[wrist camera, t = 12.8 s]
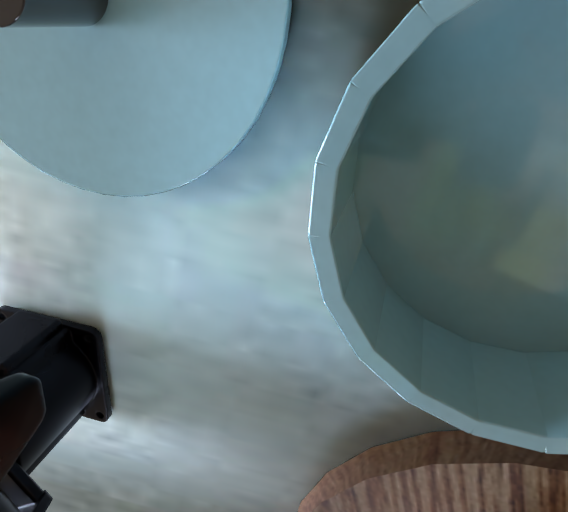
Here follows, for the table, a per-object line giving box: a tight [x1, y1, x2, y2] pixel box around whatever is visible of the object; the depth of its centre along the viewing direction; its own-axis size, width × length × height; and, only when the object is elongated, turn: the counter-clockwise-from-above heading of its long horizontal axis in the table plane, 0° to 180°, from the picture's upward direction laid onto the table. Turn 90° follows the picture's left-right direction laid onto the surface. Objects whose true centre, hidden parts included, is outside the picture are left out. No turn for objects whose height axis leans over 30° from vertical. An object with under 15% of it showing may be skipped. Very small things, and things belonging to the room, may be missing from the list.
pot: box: [308, 0, 568, 455], centre depth 14 cm, size 14×14×5 cm
